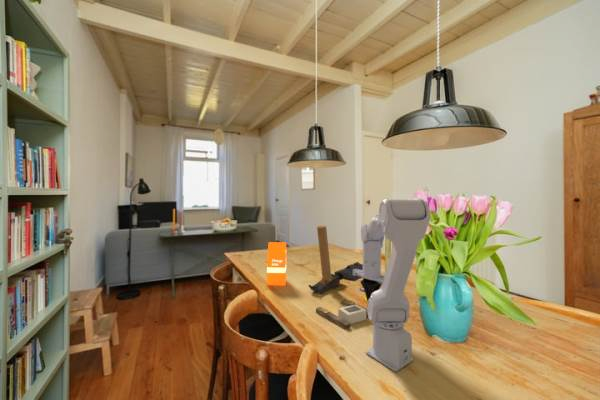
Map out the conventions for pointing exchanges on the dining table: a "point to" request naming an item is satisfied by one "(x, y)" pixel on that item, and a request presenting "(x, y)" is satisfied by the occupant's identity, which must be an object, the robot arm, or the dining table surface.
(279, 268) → the orange juice
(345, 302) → the guide rails
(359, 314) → the block
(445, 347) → the dining table surface
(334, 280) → the hammer
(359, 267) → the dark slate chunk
